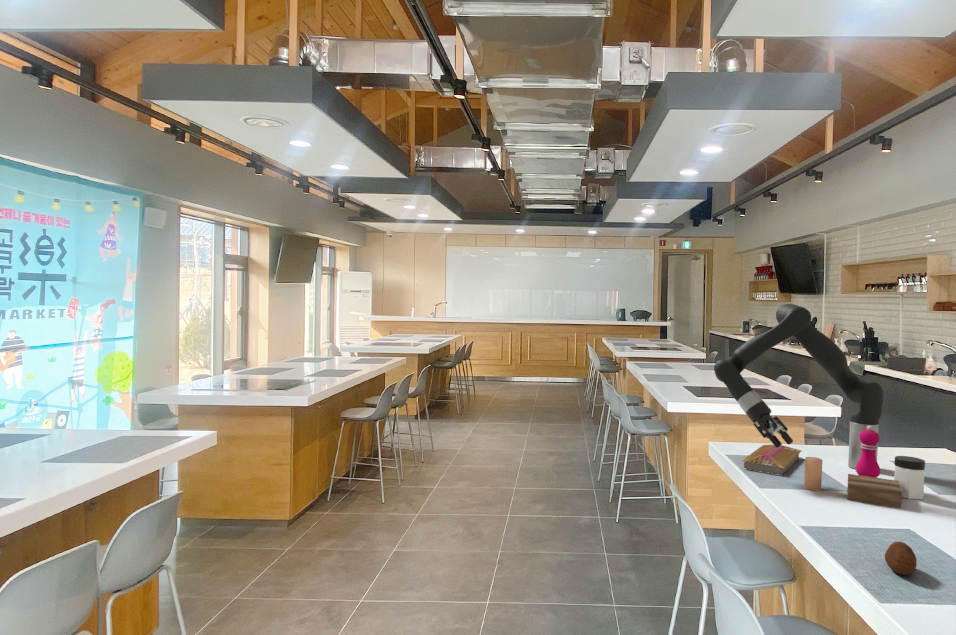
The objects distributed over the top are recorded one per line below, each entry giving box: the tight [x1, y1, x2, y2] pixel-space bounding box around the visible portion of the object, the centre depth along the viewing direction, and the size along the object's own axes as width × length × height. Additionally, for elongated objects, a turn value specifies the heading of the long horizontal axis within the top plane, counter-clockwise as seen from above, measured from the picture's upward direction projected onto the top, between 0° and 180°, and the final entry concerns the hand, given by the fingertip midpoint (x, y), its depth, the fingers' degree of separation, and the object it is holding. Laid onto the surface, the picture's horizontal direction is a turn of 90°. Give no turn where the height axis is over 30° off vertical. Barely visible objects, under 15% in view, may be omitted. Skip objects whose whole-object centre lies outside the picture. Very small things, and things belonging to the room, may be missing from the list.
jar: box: [893, 455, 926, 500], centre depth 202 cm, size 9×8×12 cm
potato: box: [884, 541, 917, 576], centre depth 143 cm, size 6×12×6 cm, turn 158°
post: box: [803, 456, 823, 492], centre depth 207 cm, size 5×5×10 cm
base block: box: [846, 473, 903, 509], centre depth 198 cm, size 14×14×5 cm
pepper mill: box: [855, 426, 881, 478], centre depth 215 cm, size 7×7×20 cm
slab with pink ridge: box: [740, 443, 802, 476], centre depth 239 cm, size 35×14×6 cm, turn 143°
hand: (785, 444), depth 214 cm, fingers open, 8 cm apart
